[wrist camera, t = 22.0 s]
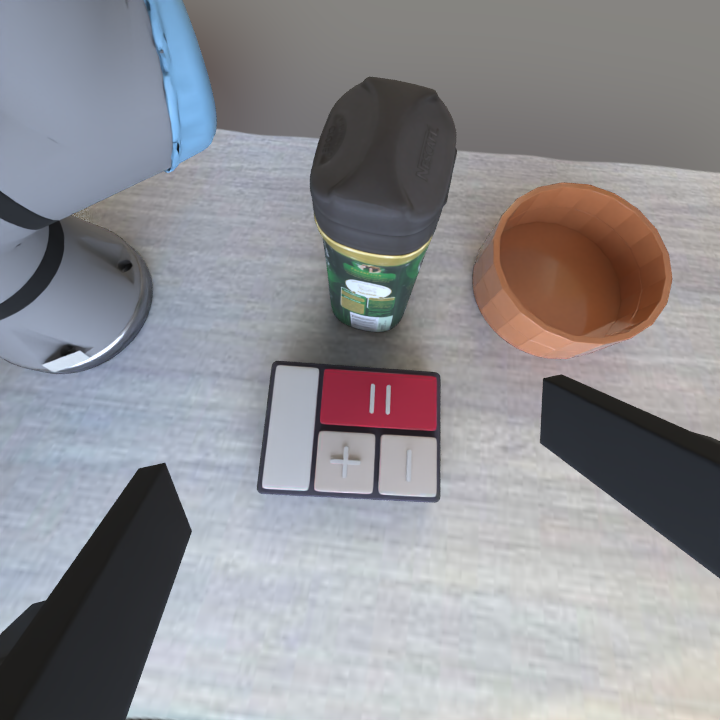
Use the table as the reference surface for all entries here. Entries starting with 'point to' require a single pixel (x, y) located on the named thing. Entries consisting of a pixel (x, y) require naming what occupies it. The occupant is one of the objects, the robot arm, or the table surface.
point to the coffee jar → (380, 195)
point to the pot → (571, 272)
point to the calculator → (351, 433)
